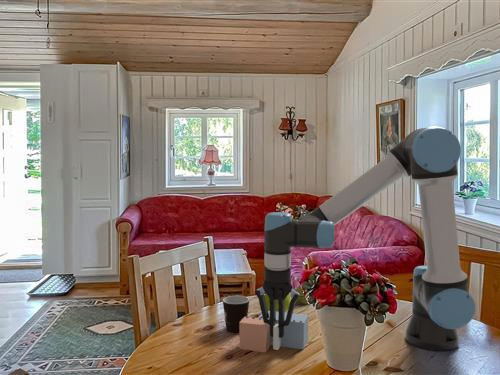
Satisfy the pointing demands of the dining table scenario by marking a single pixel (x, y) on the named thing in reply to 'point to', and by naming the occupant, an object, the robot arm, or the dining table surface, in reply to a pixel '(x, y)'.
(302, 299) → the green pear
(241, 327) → the block
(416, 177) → the robot arm
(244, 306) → the coffee mug
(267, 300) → the fruit
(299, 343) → the pad
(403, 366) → the dining table surface
